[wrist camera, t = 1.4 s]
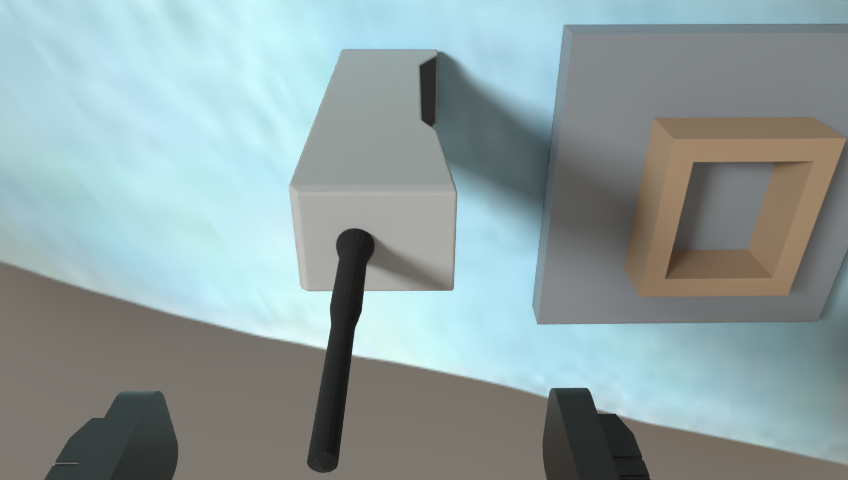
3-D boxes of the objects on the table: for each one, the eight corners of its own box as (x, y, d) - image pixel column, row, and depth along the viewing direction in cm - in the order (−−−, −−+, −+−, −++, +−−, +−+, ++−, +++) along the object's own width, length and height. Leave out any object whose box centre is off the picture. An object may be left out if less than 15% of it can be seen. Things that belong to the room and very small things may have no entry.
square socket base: (563, 24, 32) (587, 49, 28) (909, 23, 32) (985, 47, 28) (532, 305, 41) (546, 356, 37) (800, 302, 42) (845, 352, 37)
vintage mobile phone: (436, 116, 34) (476, 527, 13) (346, 116, 34) (236, 529, 13) (437, 47, 32) (486, 397, 11) (342, 47, 32) (204, 399, 11)
